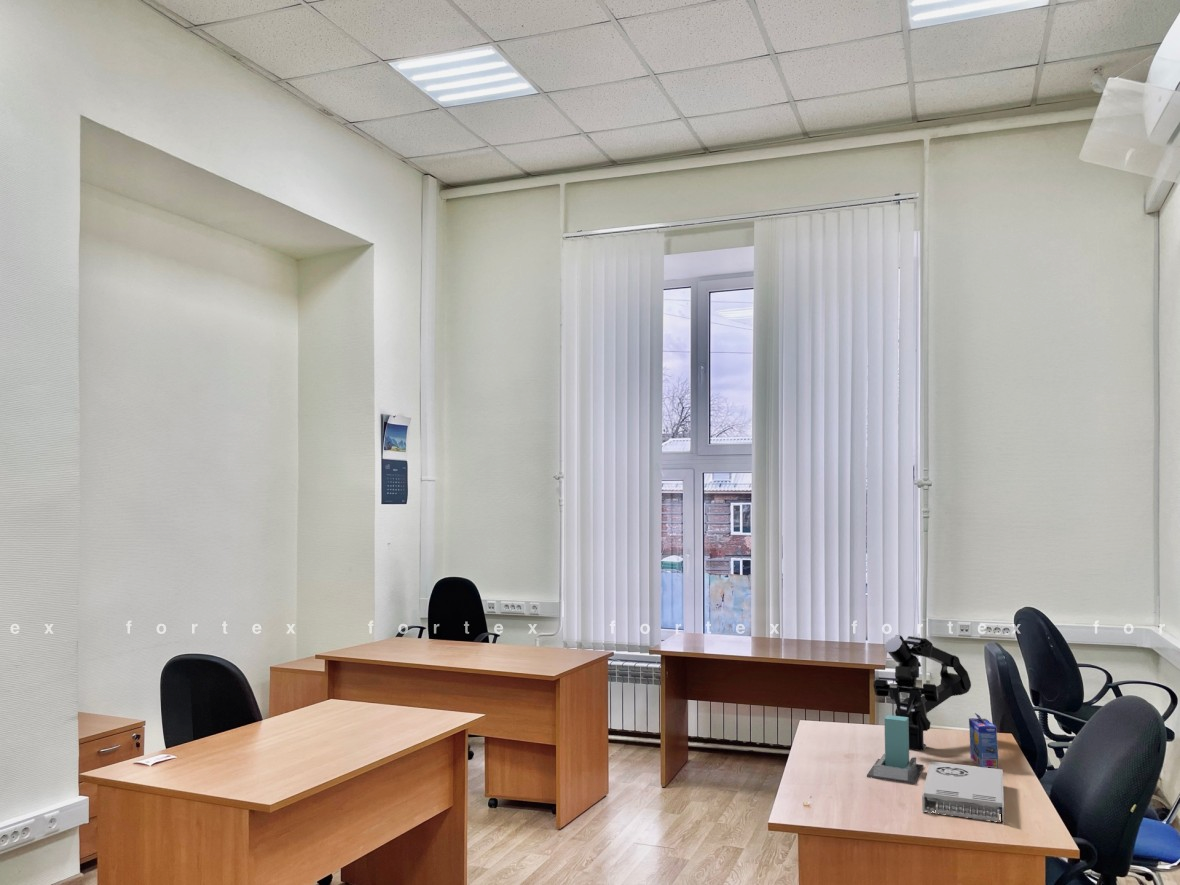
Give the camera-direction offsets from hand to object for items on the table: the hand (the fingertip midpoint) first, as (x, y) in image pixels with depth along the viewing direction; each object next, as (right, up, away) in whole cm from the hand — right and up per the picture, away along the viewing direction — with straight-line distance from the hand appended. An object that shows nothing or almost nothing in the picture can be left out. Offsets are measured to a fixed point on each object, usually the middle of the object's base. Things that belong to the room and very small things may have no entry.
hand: (902, 713), depth 275 cm
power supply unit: (+3, -12, -37) cm, 39 cm away
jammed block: (-6, -13, -12) cm, 18 cm away
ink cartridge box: (+23, -14, -5) cm, 27 cm away
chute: (-7, -13, -14) cm, 20 cm away
